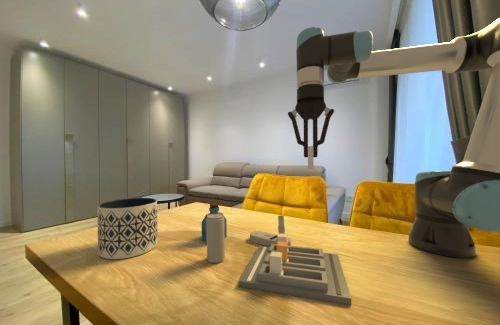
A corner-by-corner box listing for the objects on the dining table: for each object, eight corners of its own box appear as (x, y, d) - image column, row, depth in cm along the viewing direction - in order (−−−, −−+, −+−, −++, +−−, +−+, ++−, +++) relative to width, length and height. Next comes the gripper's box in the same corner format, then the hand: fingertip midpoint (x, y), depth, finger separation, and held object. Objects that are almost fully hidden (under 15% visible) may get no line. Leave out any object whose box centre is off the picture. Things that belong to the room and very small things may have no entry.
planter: (166, 247, 65) (165, 201, 65) (106, 267, 54) (105, 211, 54) (146, 235, 76) (145, 196, 76) (92, 249, 65) (91, 202, 65)
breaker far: (288, 252, 59) (288, 234, 59) (287, 255, 56) (287, 237, 56) (277, 250, 59) (277, 233, 59) (276, 254, 57) (276, 236, 57)
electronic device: (256, 209, 75) (293, 215, 65) (257, 237, 75) (294, 247, 65) (245, 212, 71) (283, 219, 61) (247, 241, 71) (285, 253, 61)
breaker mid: (288, 262, 53) (288, 242, 53) (288, 267, 50) (287, 246, 50) (276, 261, 53) (276, 241, 53) (275, 265, 51) (275, 245, 51)
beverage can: (209, 265, 54) (209, 219, 54) (204, 258, 58) (204, 214, 58) (227, 261, 56) (226, 216, 56) (221, 254, 61) (220, 212, 60)
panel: (337, 258, 57) (337, 248, 57) (351, 304, 39) (351, 290, 39) (259, 249, 63) (259, 240, 63) (238, 286, 45) (238, 274, 45)
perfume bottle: (201, 240, 71) (201, 205, 71) (211, 234, 77) (211, 201, 77) (217, 243, 69) (217, 206, 69) (226, 236, 74) (226, 203, 74)
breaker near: (283, 274, 47) (283, 252, 47) (282, 280, 45) (282, 257, 45) (270, 272, 48) (270, 251, 48) (268, 278, 46) (268, 255, 46)
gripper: (332, 89, 62) (333, 168, 63) (288, 93, 66) (288, 168, 66) (336, 79, 55) (336, 169, 55) (286, 85, 59) (286, 169, 59)
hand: (310, 168), depth 61 cm, fingers closed
